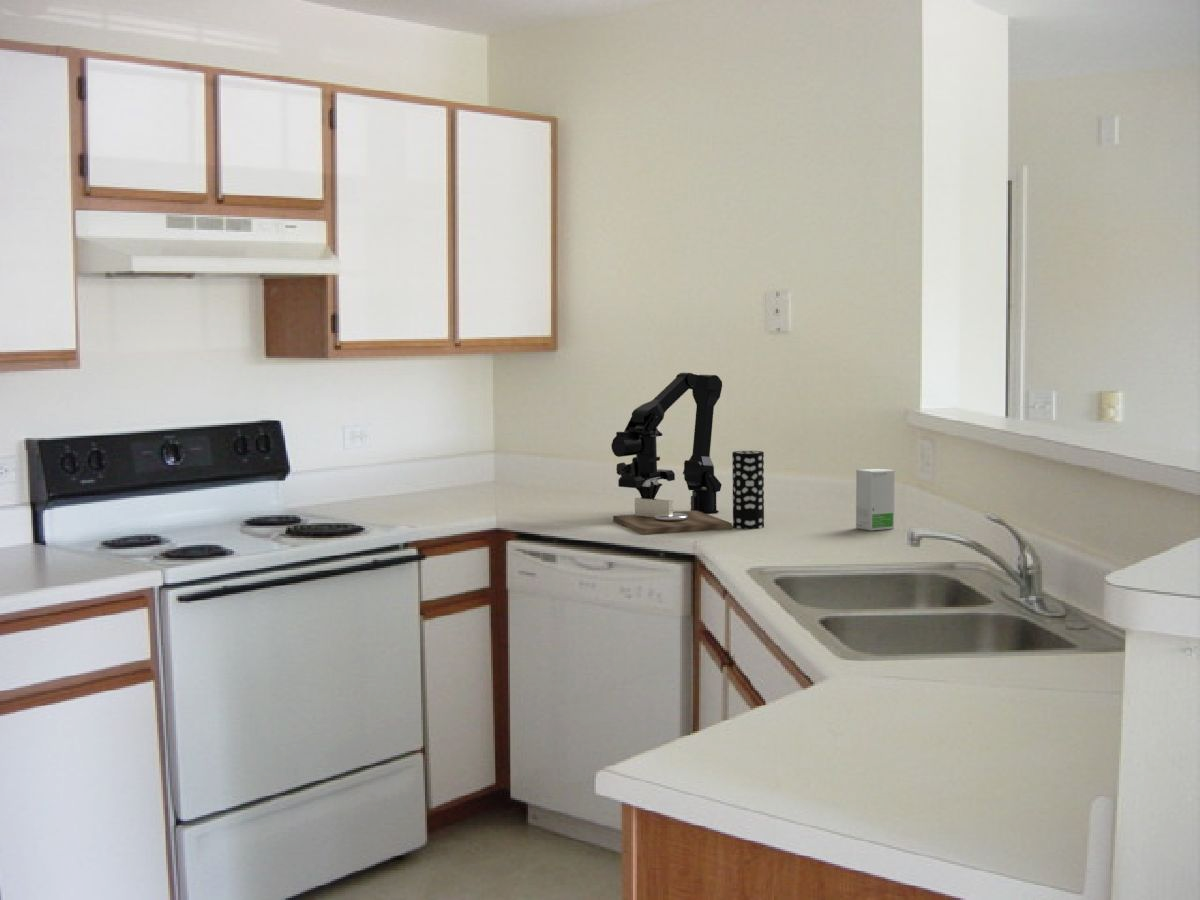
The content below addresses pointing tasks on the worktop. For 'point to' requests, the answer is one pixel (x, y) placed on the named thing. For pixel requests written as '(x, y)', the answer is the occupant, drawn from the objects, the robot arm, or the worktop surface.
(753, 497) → the white-spotted black cylinder
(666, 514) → the cream block with dome
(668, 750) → the worktop surface
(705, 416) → the robot arm
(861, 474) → the skincare box
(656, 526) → the dial plate
